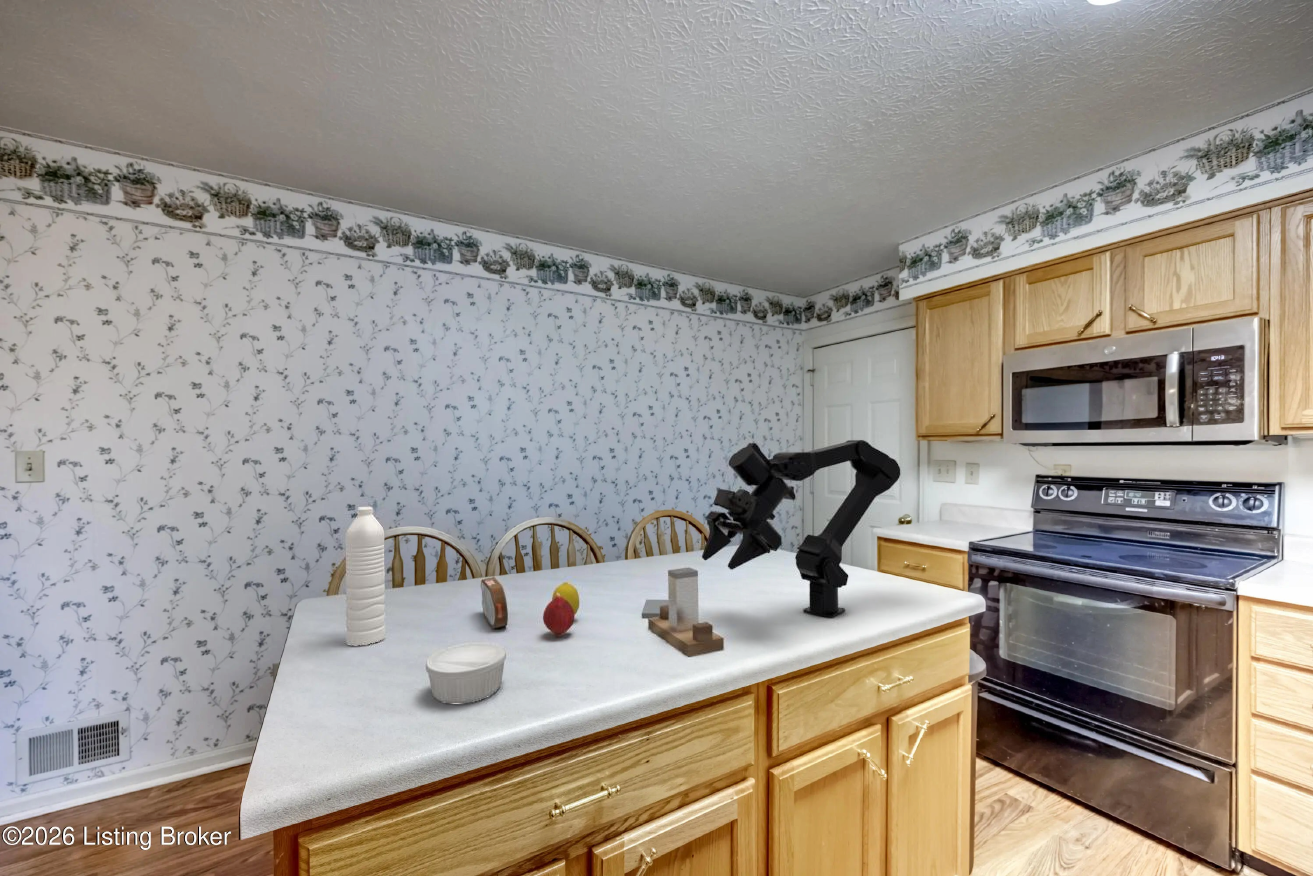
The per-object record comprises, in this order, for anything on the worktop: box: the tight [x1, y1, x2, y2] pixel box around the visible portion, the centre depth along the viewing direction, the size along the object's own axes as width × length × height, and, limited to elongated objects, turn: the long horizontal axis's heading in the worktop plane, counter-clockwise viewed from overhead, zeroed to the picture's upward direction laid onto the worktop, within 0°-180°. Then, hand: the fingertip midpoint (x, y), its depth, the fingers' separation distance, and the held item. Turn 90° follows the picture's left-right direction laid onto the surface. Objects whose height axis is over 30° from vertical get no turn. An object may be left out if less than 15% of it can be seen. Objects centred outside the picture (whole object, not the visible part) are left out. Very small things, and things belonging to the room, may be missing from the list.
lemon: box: [551, 581, 580, 615], centre depth 113 cm, size 6×6×8 cm
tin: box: [480, 576, 509, 629], centre depth 114 cm, size 15×3×8 cm, turn 27°
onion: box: [542, 593, 576, 637], centre depth 105 cm, size 6×6×8 cm
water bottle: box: [344, 506, 386, 646], centre depth 103 cm, size 9×6×25 cm
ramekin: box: [425, 641, 507, 704], centre depth 82 cm, size 11×11×5 cm
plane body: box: [647, 605, 725, 657], centre depth 102 cm, size 16×7×4 cm, turn 26°
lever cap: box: [667, 567, 700, 632], centre depth 102 cm, size 4×3×10 cm
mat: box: [641, 599, 669, 619], centre depth 119 cm, size 10×10×1 cm
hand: (715, 563), depth 105 cm, fingers open, 9 cm apart
